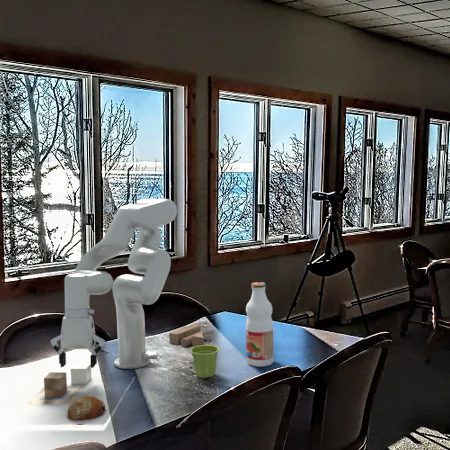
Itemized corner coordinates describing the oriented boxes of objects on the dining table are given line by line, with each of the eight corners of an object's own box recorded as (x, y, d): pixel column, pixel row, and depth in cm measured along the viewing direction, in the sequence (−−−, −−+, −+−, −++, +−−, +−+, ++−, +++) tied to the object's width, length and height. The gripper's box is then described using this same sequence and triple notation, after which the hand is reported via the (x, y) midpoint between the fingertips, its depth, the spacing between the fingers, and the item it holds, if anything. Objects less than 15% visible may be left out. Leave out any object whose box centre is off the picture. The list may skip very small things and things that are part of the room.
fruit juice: (276, 366, 198) (275, 285, 195) (249, 368, 196) (247, 286, 194) (270, 357, 207) (268, 280, 204) (244, 359, 205) (242, 281, 203)
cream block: (91, 381, 188) (90, 363, 187) (87, 387, 183) (86, 368, 182) (76, 381, 188) (75, 363, 187) (71, 387, 183) (70, 368, 182)
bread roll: (78, 423, 165) (65, 399, 164) (111, 406, 165) (97, 382, 164) (72, 438, 155) (58, 413, 154) (106, 420, 155) (92, 395, 154)
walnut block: (67, 391, 176) (66, 372, 175) (61, 398, 171) (60, 378, 170) (51, 391, 176) (49, 372, 175) (44, 398, 171) (43, 378, 170)
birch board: (83, 390, 180) (83, 386, 180) (68, 408, 166) (68, 404, 166) (45, 390, 181) (45, 386, 181) (27, 408, 167) (27, 404, 167)
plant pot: (213, 381, 185) (212, 354, 184) (186, 378, 188) (185, 352, 187) (223, 371, 193) (223, 346, 193) (197, 369, 197) (197, 344, 196)
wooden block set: (167, 330, 227) (194, 320, 242) (167, 344, 228) (195, 333, 242) (201, 336, 218) (228, 325, 232) (202, 351, 218) (229, 339, 233)
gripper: (107, 310, 186) (108, 363, 187) (54, 310, 187) (55, 362, 188) (101, 315, 179) (101, 370, 179) (46, 315, 180) (47, 369, 180)
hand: (78, 366), depth 184 cm, fingers open, 9 cm apart
